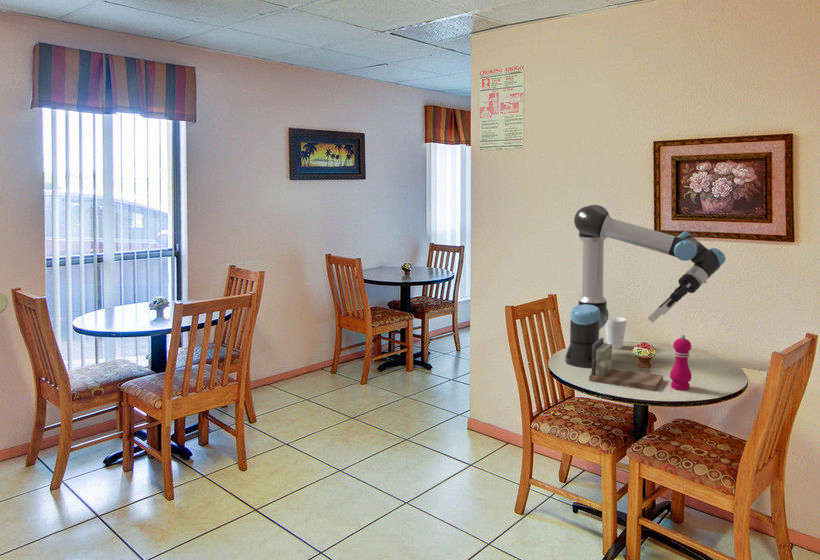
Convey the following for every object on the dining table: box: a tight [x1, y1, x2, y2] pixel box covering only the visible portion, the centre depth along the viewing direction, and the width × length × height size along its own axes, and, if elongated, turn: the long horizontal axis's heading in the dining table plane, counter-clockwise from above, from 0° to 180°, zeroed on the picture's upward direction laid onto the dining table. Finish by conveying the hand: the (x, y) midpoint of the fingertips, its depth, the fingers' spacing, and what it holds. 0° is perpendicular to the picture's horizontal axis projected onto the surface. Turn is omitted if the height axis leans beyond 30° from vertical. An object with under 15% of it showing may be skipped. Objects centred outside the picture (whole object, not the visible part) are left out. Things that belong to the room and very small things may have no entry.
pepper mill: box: [669, 334, 692, 391], centre depth 231 cm, size 7×7×20 cm
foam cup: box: [604, 316, 628, 350], centre depth 287 cm, size 10×9×13 cm
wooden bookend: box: [588, 337, 664, 392], centre depth 240 cm, size 24×14×14 cm, turn 58°
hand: (655, 316), depth 246 cm, fingers open, 13 cm apart
